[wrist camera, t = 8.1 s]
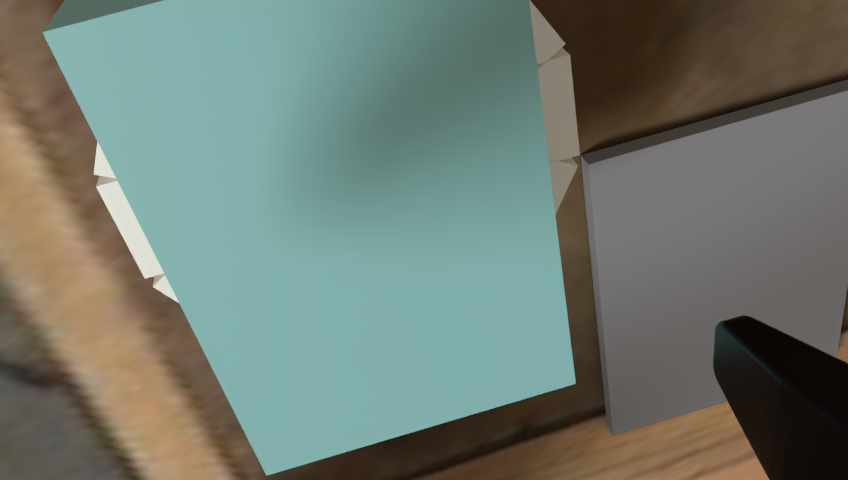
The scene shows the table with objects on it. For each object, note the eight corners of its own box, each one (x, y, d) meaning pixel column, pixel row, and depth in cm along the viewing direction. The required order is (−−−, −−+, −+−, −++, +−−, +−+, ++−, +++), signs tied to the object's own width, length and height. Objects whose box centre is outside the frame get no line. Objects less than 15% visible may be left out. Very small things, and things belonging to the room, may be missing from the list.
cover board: (533, 301, 19) (575, 383, 17) (263, 380, 19) (266, 475, 16) (467, -123, 14) (518, -93, 11) (79, -22, 13) (41, 32, 11)
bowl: (536, 197, 23) (592, 284, 19) (213, 289, 22) (208, 397, 19) (484, -169, 17) (551, -145, 14) (51, -55, 17) (-3, 1, 13)
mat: (825, 357, 30) (835, 368, 29) (606, 424, 29) (613, 435, 29) (865, 74, 23) (878, 81, 22) (580, 155, 22) (588, 164, 22)
